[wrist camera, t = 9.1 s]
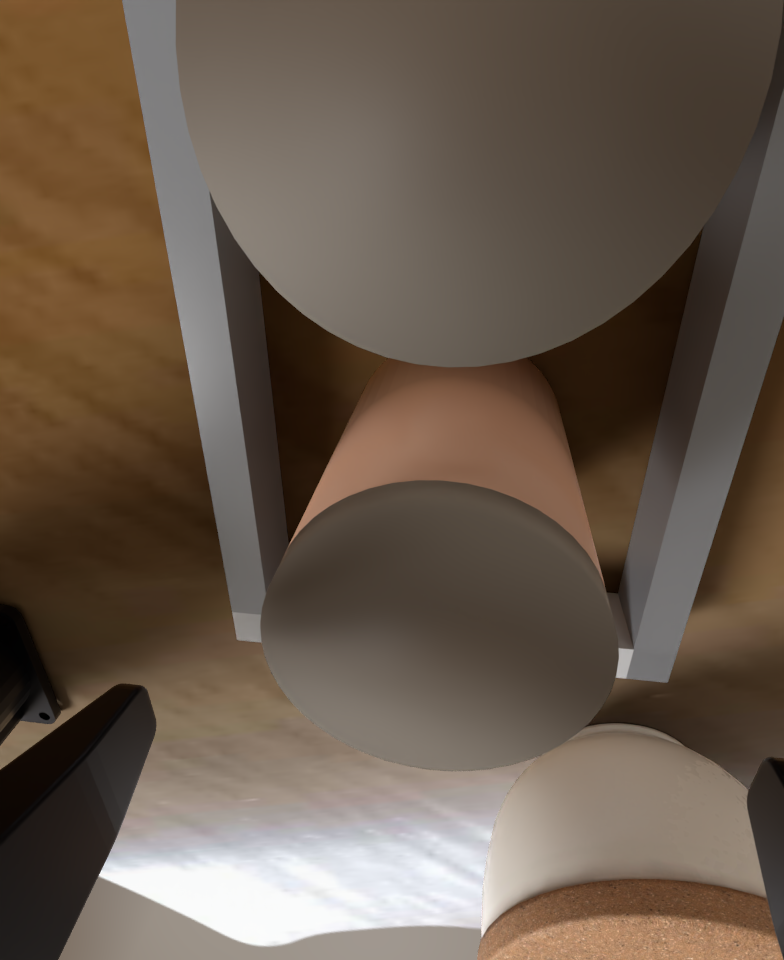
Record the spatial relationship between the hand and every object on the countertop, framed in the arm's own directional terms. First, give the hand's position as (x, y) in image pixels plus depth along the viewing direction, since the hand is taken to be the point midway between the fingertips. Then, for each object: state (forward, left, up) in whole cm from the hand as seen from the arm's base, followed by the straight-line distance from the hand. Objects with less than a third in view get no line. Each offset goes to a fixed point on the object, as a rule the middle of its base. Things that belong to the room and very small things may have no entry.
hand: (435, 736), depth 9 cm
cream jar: (+8, 0, -10) cm, 13 cm away
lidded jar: (-15, -7, -11) cm, 19 cm away
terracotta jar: (0, 0, -10) cm, 10 cm away
